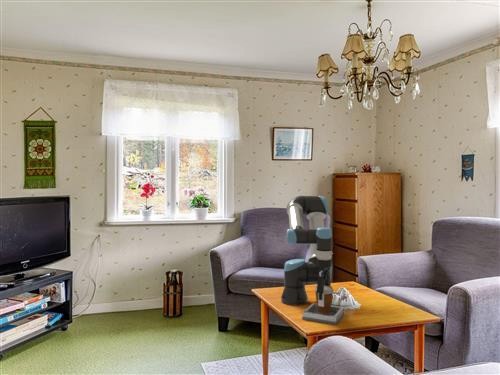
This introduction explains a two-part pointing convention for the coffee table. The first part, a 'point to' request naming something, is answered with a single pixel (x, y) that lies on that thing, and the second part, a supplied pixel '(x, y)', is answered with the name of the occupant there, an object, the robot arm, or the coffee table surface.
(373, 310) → the coffee table surface
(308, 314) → the tray
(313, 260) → the robot arm
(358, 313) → the coffee table surface
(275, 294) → the coffee table surface
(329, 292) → the disposable coffee cup
